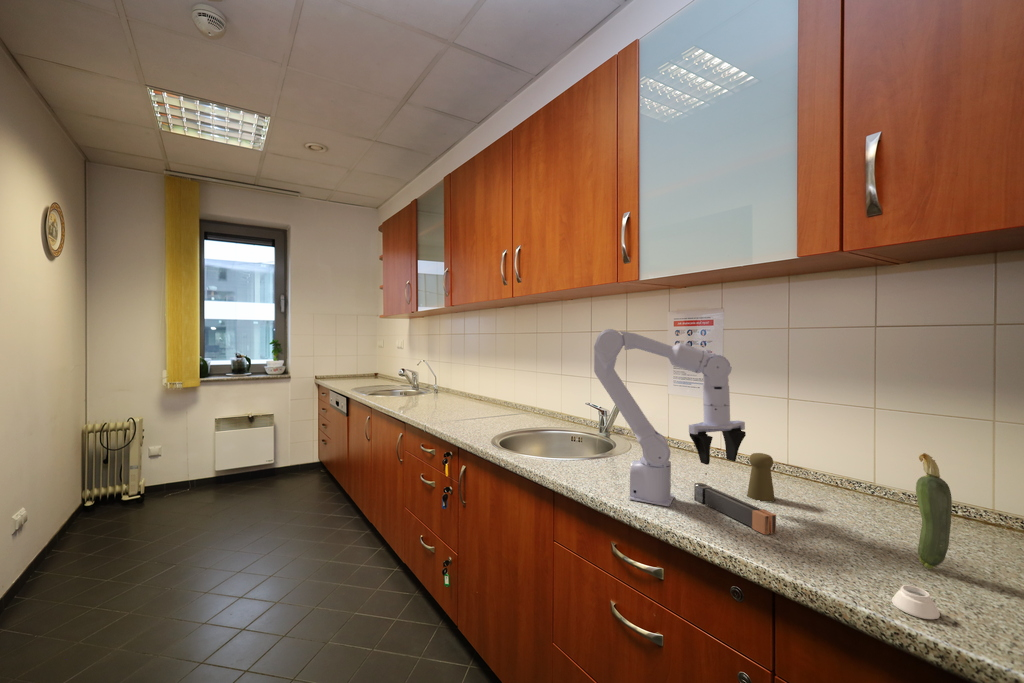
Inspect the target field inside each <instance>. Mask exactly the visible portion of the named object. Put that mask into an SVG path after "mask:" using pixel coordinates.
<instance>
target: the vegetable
mask: <svg viewBox="0 0 1024 683" xmlns="http://www.w3.org/2000/svg"><path fill="white" fill-rule="evenodd" d="M918 459H919V461H920V462H922V466H923V471H924V473H925V475H923V476H920V477H919V478H918V479H917V481H916V484H915V493H916V500H917V504H918V508H919V512H920V515H921V529H920V535H919V540H918V541H919V542H918V548H917V555H918V560H919V562H920V563H921V564H922V565H923V566H924V567H925V568H926V569H928V570H932V569H934V568H935V567H937V566H940V565H941V564H942V563H943V562H944V561H945V558H946V555H947V554H948V550H949V546H950V536H951V535H950V534H951V526H952V512H953V510H952V509H953V508H952V507H953V505H952V504H953V502H952V500H953V499H952V492H951V489H950V486H949V485H948V483H947V481H945V480H944V479H943V478H941V475H940V469H939V466H938V464H937V462H936V460H935V459H933V456H931V455H930V454H928V453H926V452H924V453H921V454H919V456H918Z"/></svg>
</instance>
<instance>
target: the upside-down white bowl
mask: <svg viewBox="0 0 1024 683" xmlns="http://www.w3.org/2000/svg"><path fill="white" fill-rule="evenodd" d="M891 601H892V604H893V605H894V606H895V607H896V608H897V609H898V610H900V611H902V612H904V613H906V614H908V615H909V616H912V617H916V618H920V619H924V620H938V619H939V618H940V616H941V614H940V613H941V612H940V611H939V609H938V608H937V605H936V604H935V602H934V600H933V598H931V595H930V593H929V592H928V591H926V590H925V589H923V588H920V587H917V586H915V585H907V584H906V585H905V584H904V585H902V586H900V589H898V590H897V591H896V593H895V594H894V596H893V597H892V598H891Z"/></svg>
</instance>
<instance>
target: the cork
mask: <svg viewBox="0 0 1024 683" xmlns="http://www.w3.org/2000/svg"><path fill="white" fill-rule="evenodd" d="M748 459H749V464H750V466H751V470H750V475H749V482H748V487H747V488H748V489H747V493H746V494H747V495H746V496H747V498H749V499H751V498H752V499H751V500H753V499H755V500H754V501H757V500H760V501H759V502H762V501H773V500H774V501H775V491H774V484H773V478H772V477H773V476H772V469H771V468H772V467H773V465H774V459H773V458H772V456H771V455H769V454H767V453H762V452H753V453H751V454H750V456H749V458H748ZM774 501H773V502H774Z"/></svg>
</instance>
